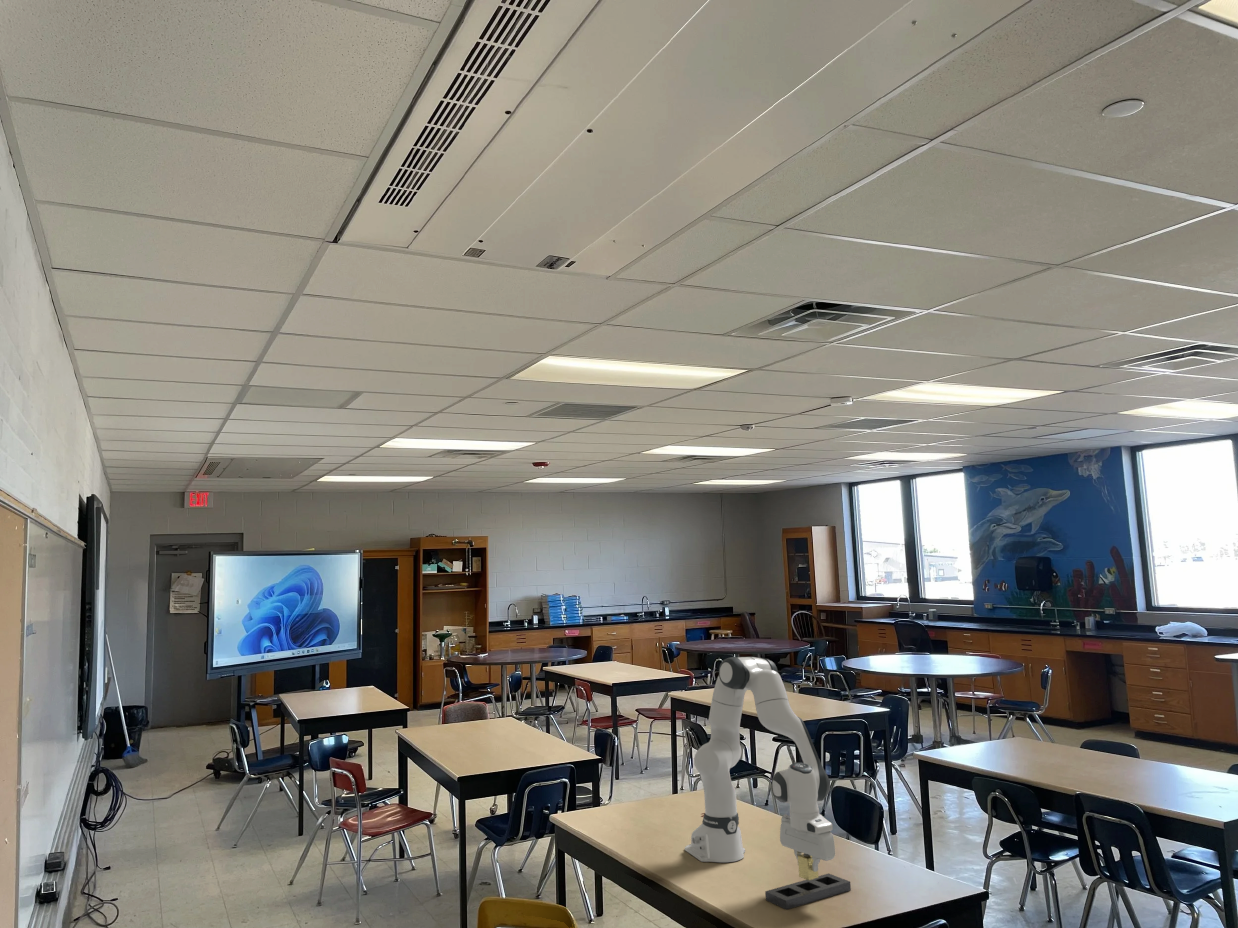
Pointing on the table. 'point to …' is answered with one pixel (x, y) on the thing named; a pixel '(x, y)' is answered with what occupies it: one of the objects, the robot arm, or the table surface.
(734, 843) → the robot arm
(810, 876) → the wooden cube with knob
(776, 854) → the table surface
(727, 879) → the table surface
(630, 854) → the table surface
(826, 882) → the grey flat slotted block
